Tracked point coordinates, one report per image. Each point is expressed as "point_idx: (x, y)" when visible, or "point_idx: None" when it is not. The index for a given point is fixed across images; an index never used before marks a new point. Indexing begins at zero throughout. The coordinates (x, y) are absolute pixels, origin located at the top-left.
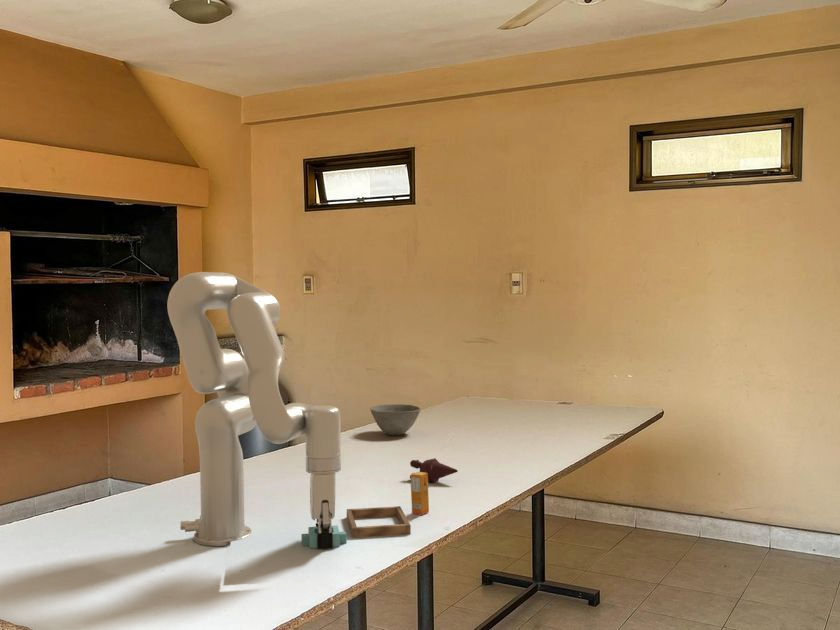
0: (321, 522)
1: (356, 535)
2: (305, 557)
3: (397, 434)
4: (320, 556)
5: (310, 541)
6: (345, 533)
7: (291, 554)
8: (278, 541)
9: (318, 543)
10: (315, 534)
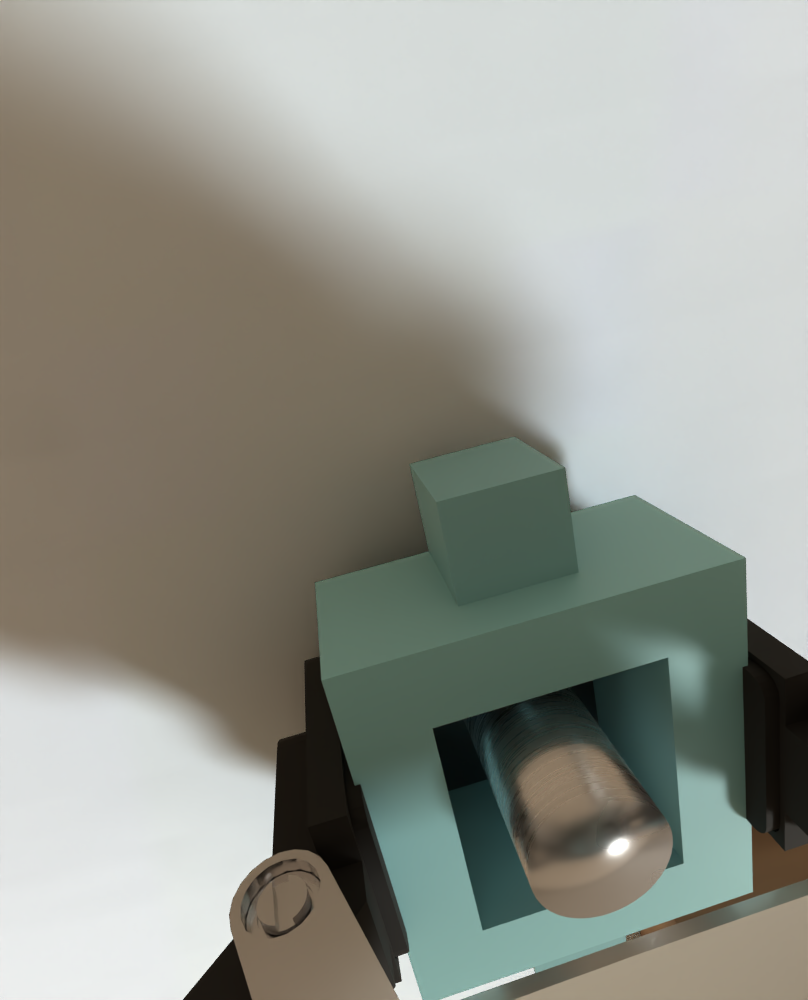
0: (798, 764)
1: (664, 927)
2: (166, 543)
3: None
4: (222, 687)
5: (319, 637)
6: (554, 963)
7: (251, 349)
8: (749, 55)
9: (307, 724)
10: (379, 747)
